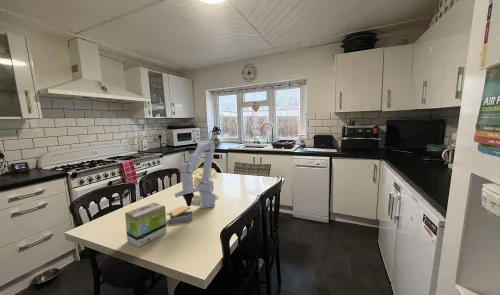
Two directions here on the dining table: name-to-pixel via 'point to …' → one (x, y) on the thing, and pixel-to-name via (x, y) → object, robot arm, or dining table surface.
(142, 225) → the tea box
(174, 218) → the grey angled bars
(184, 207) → the cover
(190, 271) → the dining table surface
